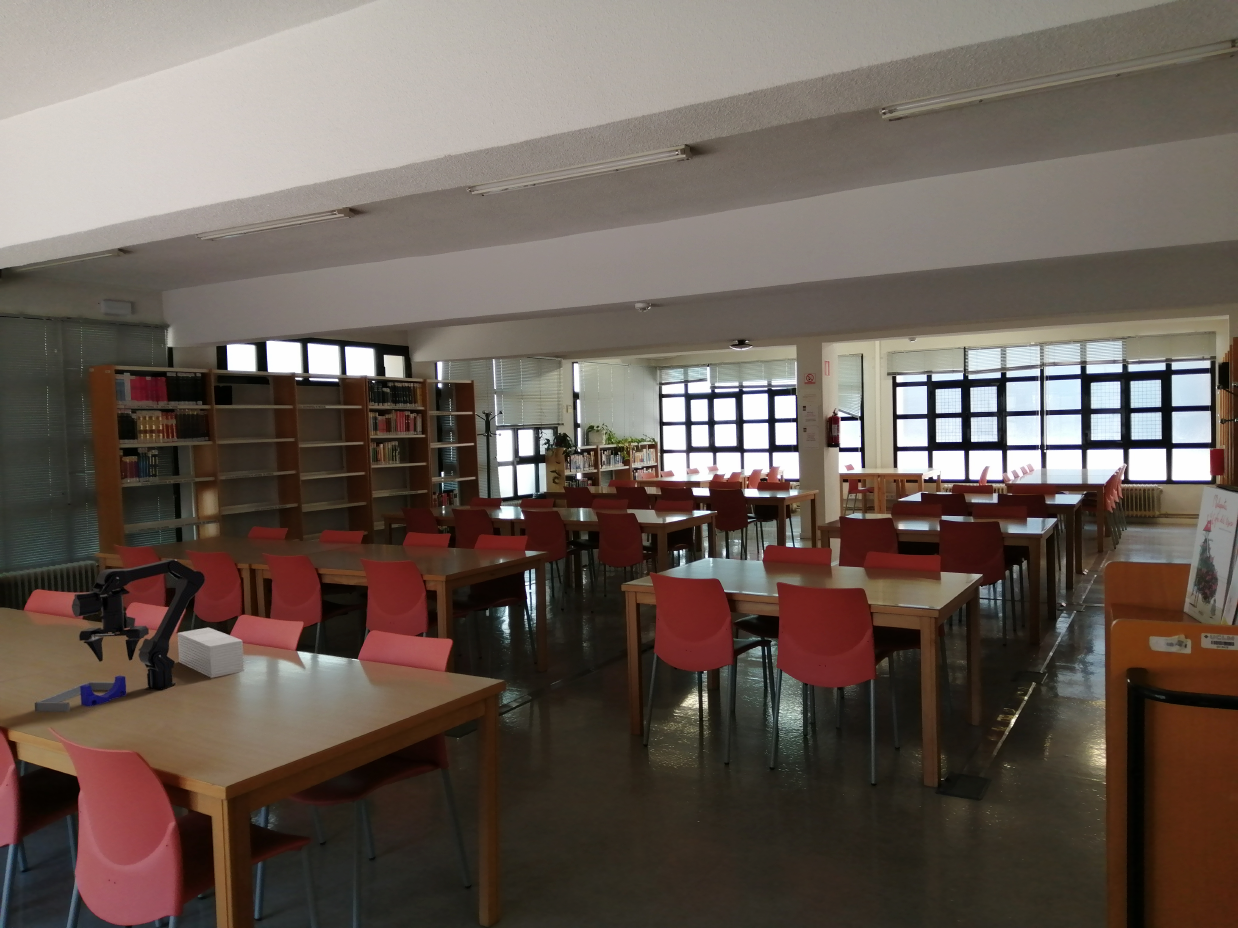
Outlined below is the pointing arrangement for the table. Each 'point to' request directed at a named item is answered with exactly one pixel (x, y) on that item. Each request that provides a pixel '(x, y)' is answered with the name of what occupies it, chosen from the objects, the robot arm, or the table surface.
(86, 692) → the blue cradle mount
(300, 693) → the table surface
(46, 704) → the bracket
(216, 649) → the stack of papers
